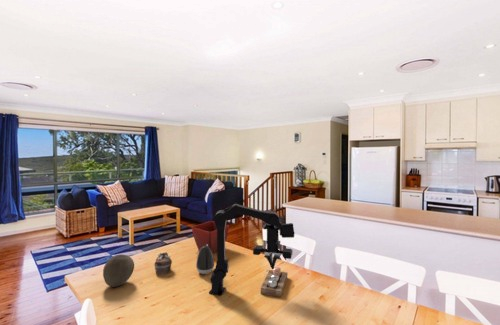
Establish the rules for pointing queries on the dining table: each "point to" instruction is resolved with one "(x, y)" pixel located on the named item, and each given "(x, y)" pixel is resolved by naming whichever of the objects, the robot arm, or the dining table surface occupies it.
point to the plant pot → (207, 235)
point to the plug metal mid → (275, 277)
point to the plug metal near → (272, 283)
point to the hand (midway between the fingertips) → (272, 268)
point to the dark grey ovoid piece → (205, 260)
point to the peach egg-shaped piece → (277, 271)
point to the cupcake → (163, 263)
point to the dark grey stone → (118, 270)
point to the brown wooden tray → (280, 285)
